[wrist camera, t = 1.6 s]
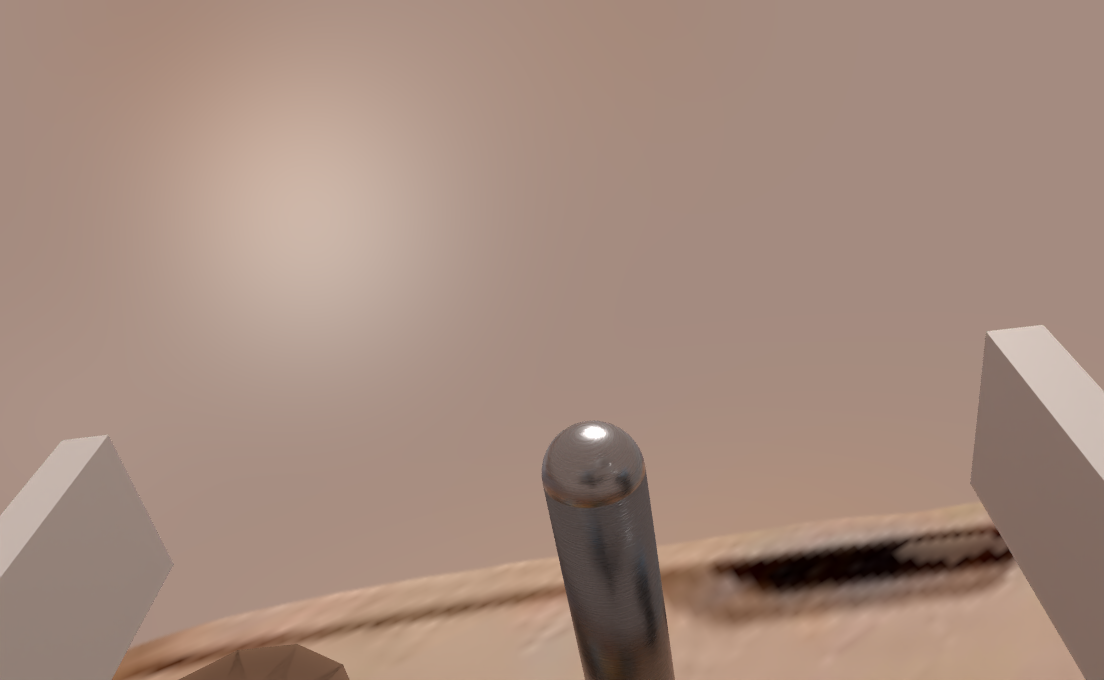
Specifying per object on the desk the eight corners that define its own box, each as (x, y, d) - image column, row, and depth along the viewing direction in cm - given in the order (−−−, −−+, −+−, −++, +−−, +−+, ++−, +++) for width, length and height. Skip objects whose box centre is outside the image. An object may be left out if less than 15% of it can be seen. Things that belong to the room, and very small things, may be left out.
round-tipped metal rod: (688, 775, 35) (635, 394, 26) (698, 851, 33) (643, 458, 24) (613, 781, 36) (535, 407, 26) (617, 857, 33) (531, 471, 24)
